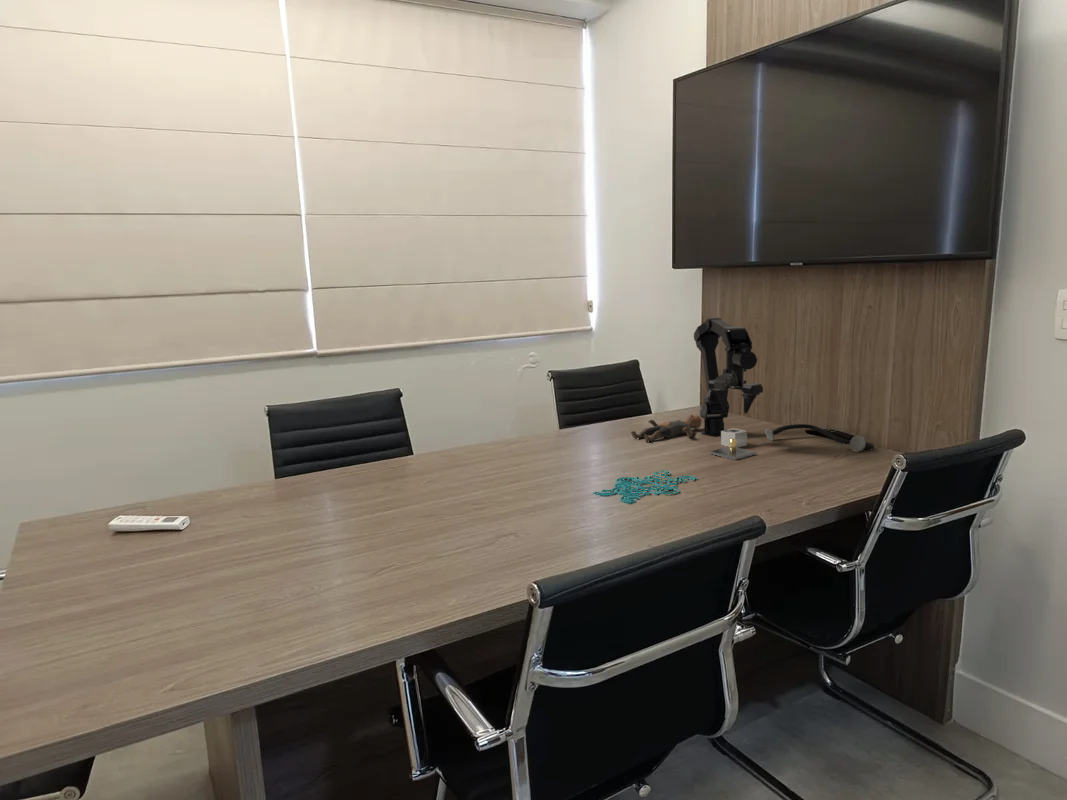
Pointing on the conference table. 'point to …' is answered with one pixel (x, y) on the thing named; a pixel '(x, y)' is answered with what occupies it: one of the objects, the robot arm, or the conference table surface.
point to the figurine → (669, 428)
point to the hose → (855, 443)
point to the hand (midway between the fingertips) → (734, 411)
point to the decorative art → (632, 496)
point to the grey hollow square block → (734, 437)
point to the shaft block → (733, 451)
